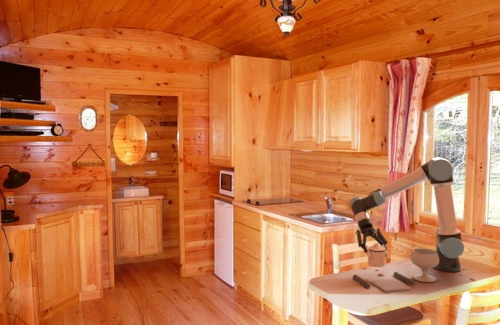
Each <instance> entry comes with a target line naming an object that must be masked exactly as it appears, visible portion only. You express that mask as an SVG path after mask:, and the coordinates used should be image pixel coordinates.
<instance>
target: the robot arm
mask: <svg viewBox="0 0 500 325" xmlns="http://www.w3.org/2000/svg"><path fill="white" fill-rule="evenodd" d="M453 172H454V167H453V164H452V163H451V161H450V160H448V159H447V158H443V157H433V158H432V159H430V160H429V161H427V162H426V163H424V164H422V165H420V166H419V168H418V169H416V170H414V171H411V172H410V173H407V174H405V175H404V176H401V177H400V178H398V179H395V180H394V181H392V182H390V183H388V184H385V185H384V186H381V187H379V188H378V189H375V190H372V191H370V192H369V193H368V195H367V196H365V197H363V198H361V197H360V196H356V197H352V198H351V199H350V201H349V205H350V209H351V212H352V214H353V217H354V218H355V222H356V223H357V226H358V228H359V229H358V228H357V229H356V230H355V235H356V238H357V244H358V247H359V248H361V249H362V250H363V252H364V253H365V254H366V256H367V260H368V259H370V258H371V254H370V251H369V249H368V247H369V246H368V245H366V244H367V238H368V237H371V238H372V239H374V240H375V242H377V243H378V244H379V245H380V246H381V247H384V248H385V259H386V258H387V257H388V256H389V254H388V252H387V251H388V249H387V245H388V240H387V239H386V238H385V237H384V234H382V232H381V229H380V228H379V227H378V228H375V227H374V226H373V223H372V221H371V217H370V216H369V214H368V211H370V210H372V209H374V208H377V207H379V206H382V205H383V204H385V203H387V201H386V200H388V199H389V198H392V197H394V196H396V195H398V194H400V193H402V192H404V191H406V190H408V189H411V188H412V187H414V186H416V185H419V184H421V183H423V182H425V181H427V182H430V185H431V186H432V187H433V190H434V196H435V204H436V210H437V218H438V226H439V228H437V229H436V232H435V234H436V237H435V238H436V239H435V241H436V242H435V251H436V252H437V254H438V256H439V264H438V265H437V266H436V267H433V268H432V269H434V270H439V271H442V272H449V273H453V272H454V273H458V272H461V271H462V265H461V260H460V258H459V257H460V256H461V255H463V254H464V250H465V245H464V242H463V239H462V230H459V229H458V226H457V225H458V224H457V217H456V210H455V204H454V203H455V202H454V197H453V189H452V184H453V183H454V181H455V180H454V175H453Z"/></svg>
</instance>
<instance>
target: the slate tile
mask: <svg viewBox="0 0 500 325" xmlns="http://www.w3.org/2000/svg"><path fill="white" fill-rule="evenodd" d="M370 284H372V285H373V286H375V287H376V288H378V289H379V290H381V291H383V292H384V293H395V292H406V291H408V292H409V291H411V290H412V288H411V287H410V286H408V285H406V284H404V283H403V282H401V281H399V280H397V278H396V279H395V278H390V279H380V280H379V279H378V280H377V279H375V280H370Z"/></svg>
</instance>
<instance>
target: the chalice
mask: <svg viewBox="0 0 500 325" xmlns="http://www.w3.org/2000/svg"><path fill="white" fill-rule="evenodd" d="M410 261H411V263H412V264H413V265H415V266H416V267H418V268H419V269H420V270H421V271H422V273H421V274H419V273H416V274H414V275H412V276H411V278H412V279H413V280H415V281H419V282H422V283H434V282H437V281H438V280H437V278H436V277H434V276H432V275H428V274H427V272H428V270H430V269H434V268H433V267H436V266H437V265H438V264H439V256H438V254H437V252H436V250H433V249H430V248H414V249H413V250H412V252H411V254H410Z"/></svg>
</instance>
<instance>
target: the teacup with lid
mask: <svg viewBox="0 0 500 325" xmlns="http://www.w3.org/2000/svg"><path fill="white" fill-rule="evenodd" d="M368 249H369V251H370V254H371V258H370V259H368V258H367V263H368V264H367V265H368V266H370V267H372V268H383V267H384V266H386V258H385V248H384V247H381V245H380V244H379V243H378V242H377V243H376V242H375V243H374V244H373V245H370V246H368Z"/></svg>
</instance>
